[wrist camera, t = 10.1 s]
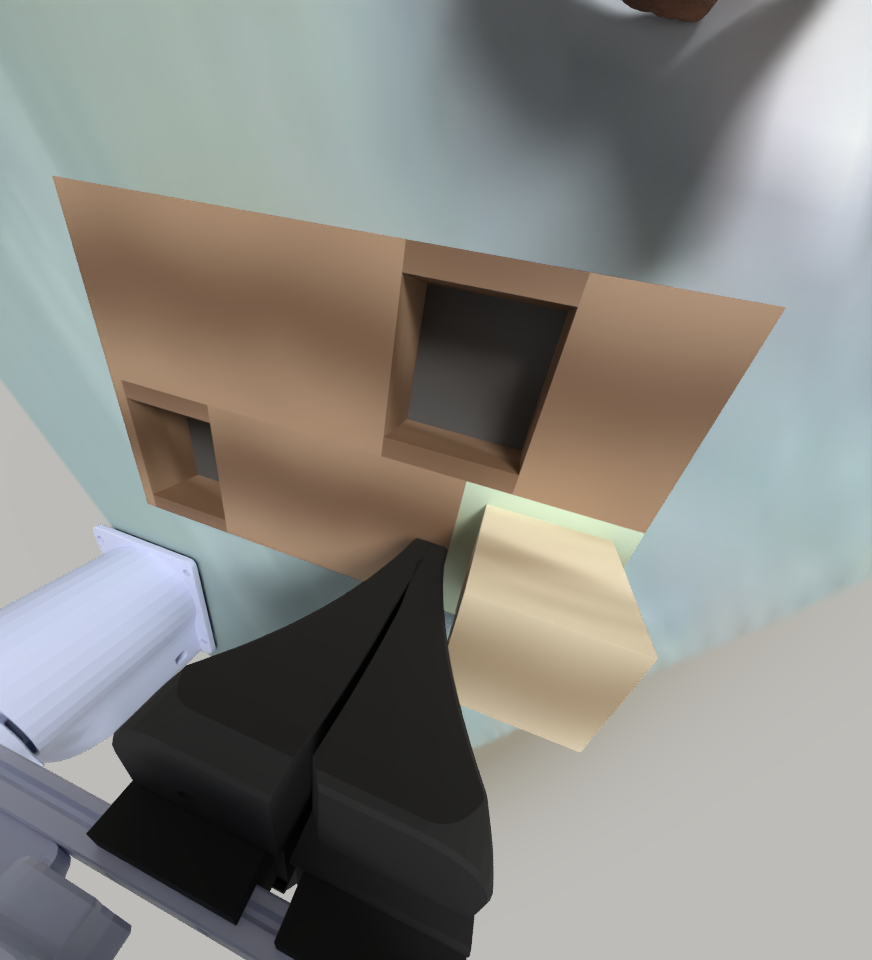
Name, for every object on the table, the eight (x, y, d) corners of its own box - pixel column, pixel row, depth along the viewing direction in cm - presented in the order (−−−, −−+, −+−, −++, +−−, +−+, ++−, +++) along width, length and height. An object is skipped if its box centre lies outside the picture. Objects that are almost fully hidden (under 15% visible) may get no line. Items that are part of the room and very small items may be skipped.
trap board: (562, 606, 14) (568, 655, 12) (195, 482, 17) (148, 503, 15) (722, 312, 9) (785, 307, 7) (140, 203, 12) (52, 175, 10)
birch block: (565, 626, 12) (580, 752, 8) (461, 590, 12) (433, 693, 9) (612, 541, 10) (658, 658, 6) (486, 504, 10) (464, 592, 7)
